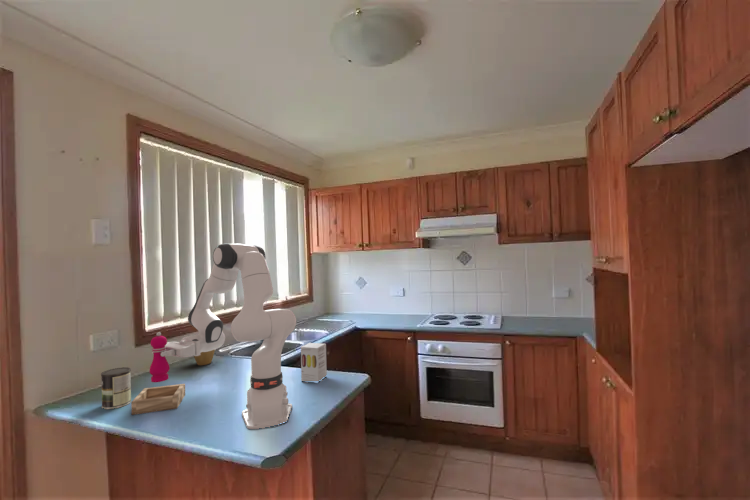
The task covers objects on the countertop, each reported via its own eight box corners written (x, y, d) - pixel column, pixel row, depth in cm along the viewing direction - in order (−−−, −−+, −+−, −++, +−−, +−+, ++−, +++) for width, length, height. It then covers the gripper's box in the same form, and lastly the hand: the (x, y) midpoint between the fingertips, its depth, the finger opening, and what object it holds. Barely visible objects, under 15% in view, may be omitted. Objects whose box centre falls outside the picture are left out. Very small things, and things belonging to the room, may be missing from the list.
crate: (177, 408, 148) (176, 396, 148) (131, 414, 143) (131, 402, 144) (185, 394, 163) (185, 383, 163) (144, 400, 159) (144, 388, 159)
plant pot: (221, 359, 221) (220, 332, 221) (212, 366, 206) (211, 338, 207) (196, 360, 220) (195, 333, 220) (185, 368, 205) (184, 339, 206)
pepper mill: (160, 383, 149) (159, 334, 150) (145, 382, 151) (144, 334, 151) (173, 377, 157) (172, 330, 157) (159, 376, 158) (157, 330, 158)
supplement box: (300, 382, 175) (299, 346, 175) (310, 376, 184) (309, 342, 184) (318, 383, 172) (317, 347, 172) (327, 377, 181) (326, 343, 181)
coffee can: (97, 411, 148) (97, 376, 149) (106, 402, 158) (105, 369, 158) (127, 406, 152) (127, 372, 152) (134, 398, 162) (133, 366, 162)
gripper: (176, 336, 170) (144, 343, 159) (201, 341, 159) (169, 348, 148) (176, 350, 170) (144, 358, 159) (202, 355, 159) (169, 364, 148)
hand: (156, 353), depth 153 cm, fingers closed on pepper mill, 5 cm apart
